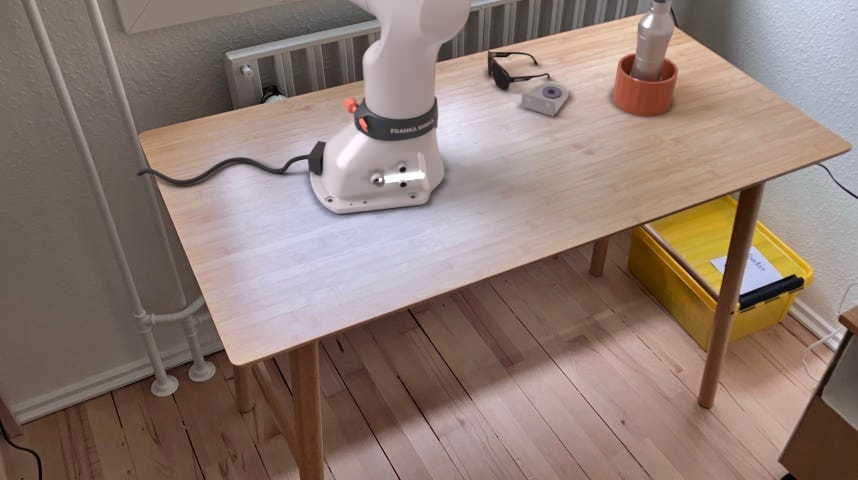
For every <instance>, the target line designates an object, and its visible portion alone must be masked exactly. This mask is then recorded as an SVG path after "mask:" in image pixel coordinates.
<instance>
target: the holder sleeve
mask: <svg viewBox="0 0 858 480" xmlns="http://www.w3.org/2000/svg"><path fill="white" fill-rule="evenodd" d="M635 55H636V52H635V53H634V52H633V53H628V54H626V55H624V56H622V57H621V58H620V59H619V60H618V63H617V69H616V74H615V81H614V85H613V91H612V100H613V102H614V104H615V105H616V106H617V107H618V108H619V109H621V110H623V111H624V112H626V113H629V114H632V115H636V116H642V117H643V116H645V117H651V116H658V115H661V114H664V113H665V112H667V111H668V110H669V109H670V107H671V106H672V105H671V104H672V102H673V97H674V93H675V88H676V84H677V79H678V75H679V68H678V67H677V65H676V64H675V62H673V61H672V60H670V59H669V58H667V57H665V58H664V61H663V68H662V81H660V82H647V81H641V80H638V79H635V78H632V77H631V76H629V75H630V73H631V70H632V67H633V63H634V60H635Z"/></svg>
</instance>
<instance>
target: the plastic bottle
mask: <svg viewBox="0 0 858 480" xmlns="http://www.w3.org/2000/svg"><path fill="white" fill-rule="evenodd" d="M671 6H672V0H649V4H648V11H646V13H645V14H644V15H643V16H642V17H641V18H640V20H639V22H638V24H637V33H636V34H637V35H636V48H635V53H636V55H635V60H634V63H633V67H632V70H631V73H630V75H629V76H631V77H632V78H635V79H638V80H641V81H647V82H660V81H662V68H663V61H664V58H666V57H665V56H666V54H667V50H668V47H669V44H670V42H671V39H672V36H673V34H674V31H675V23H674V21H673V18H672V16H671V14H670V12H671V8H672V7H671Z"/></svg>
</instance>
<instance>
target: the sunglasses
mask: <svg viewBox="0 0 858 480" xmlns="http://www.w3.org/2000/svg"><path fill="white" fill-rule="evenodd" d="M511 55H523V56H528V57H530V58H531V60H532V61H533V64H534V66H538V61H537V59H535V57H534V56H533V55H532V54H530V53H527V52H522V51H521V52H520V51H490V50H487V74H488V77H493V80H494V83H495V85H496V87H497V88H498V89H500V90H502V91H508V90H509V88H510V85H511V84H513V83H522V82H528V81H531V79H533V78H540V77H541V78H542V77H544V76H547V80H550V78H551V75H550V73H548V72H545V73H542V74H538V75H534V74H533V75H523V76H511V75H510V73H509V72H508V71H507V70H505V68H503V66H501V64H500V63H498V62H497V60H496V58H508V57H510V56H511Z"/></svg>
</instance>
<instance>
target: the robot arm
mask: <svg viewBox="0 0 858 480" xmlns="http://www.w3.org/2000/svg"><path fill="white" fill-rule="evenodd" d="M348 1H349V2H350V3H352V4H353V5H355V6H357V7H359V8H360V9H362V10H364V11H365V12H367V13H368V14H370V15H372V16H374V17H375V18H376V20H377V21H378V23H379V26H380V37H379V39H377V40H376V41H374V42H373V43H372V44H371V45H370V46H369V47H368V48H367V49H366V51H365V52H364V54H363V56H362V72H363V73H362V76H363V77H362V78H363V87H364V88H363V89H364V91H363V92H364V96H363V98H362V101H361V102H360V104H359V103H358V101H357V99H356V98H354V97H347V98H346V99H345V101H344V102H343V105H344V108H346V110H347V113H349V114H352V115H353V120H352V121H351V122H350V123H348V124H347V125H346V126H345V127H343V128H342V129H341V130H340V131H338V132H337V133H336V134H335V135H333V136H332V137H330V138H329V139H328V140H327V142H326V141H321V140H317V142H316V144H315V145H314V147H313V148H312V149H311V151H310V152H309V153H307V154H301V155H297V156H294V157H292V158H290V159H288V160H287V161H286V163H285V164H284V165H283V166H282V167H280V168H271V167H268V166H266V165H264V164H262V163H260V162H258V161H256V160H255V159H252V158H249V157H244V156H238V157H237V156H236V157H230V158H227V159H224V160H222V161H220V162H218V163H216V164H214V165H213V166H212V167H210V168H209V169H207V170H206V171H204V172H202V173H201V174H198V175H197V176H195V177H192V178H188V179H175V178H172V177H169V176H167V175H165V174H163V173H161V172H159V171H158V170H156V169H154V168H149V167H147V168H143V169H140V170H139V171H138V172H137V173H136V176H138V177H140V176H143V175H145V174H151V175H154V176H155V177H157V178H159V179H161V180H163V181H165V182H166V183H167V182H168V183H170V184H173V185H177V186H183V185H184V186H185V185H191V184H194V183H197V182H199V181H202V180H203V179H206V178H207V177H209V176H210V175H211V174H213V173H214V172H216V171H217V170H219V169H220V168H222V167H224V166H226V165H229V164H232V163H247V164H249V165H253V166H255V167H256V168H258V169H260V170H262V171H264V172H267V173H270V174H276V175H277V174H283V173H285V172H286V171H287V170H288V169H289V168H290V167H291V165H293V164H294V163H296V162H299V161H303V160H305V161H306V160H307V164H308V172H309V176H310V177H309V179H310V185H311V188H312V191H313V192H314V195H315V196H316V199H318V201H319V202H320V203H321V204H322V206H323V207H325V208H326V209H327V210H329V211H331V212H333V213H334V214H338V215H339V214H340V215H341V214H351V213H359V212H368V211H376V210H385V209H394V208H395V209H396V208H403V207H411V206H421V205H425V204H426V203H427V202H428V201H429V199H430V197H431V194H432V192H433V191H434V190H435V188H437V187H438V186H439V185H440V184H441V183H442V181H443V180H444V177H445V166H444V163H443V160H442V157H441V153H440V149H439V145H438V144H439V143H438V137H437V128H438V125H439V124H438V121H439V105H438V98H437V96H436V67H437V66H436V65H437V58H438V54H439V51H440V50H441V47H442V45H443V44H445V43H447V42H449V41H451V40H452V39H453V38H455V37H456V36H457V35H458V34H459V33H460V32H461V31H462V30H463V28H464V27H465V25H466V23H467V21H468V19H469V16H470V12H471V7H472V0H348Z"/></svg>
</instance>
